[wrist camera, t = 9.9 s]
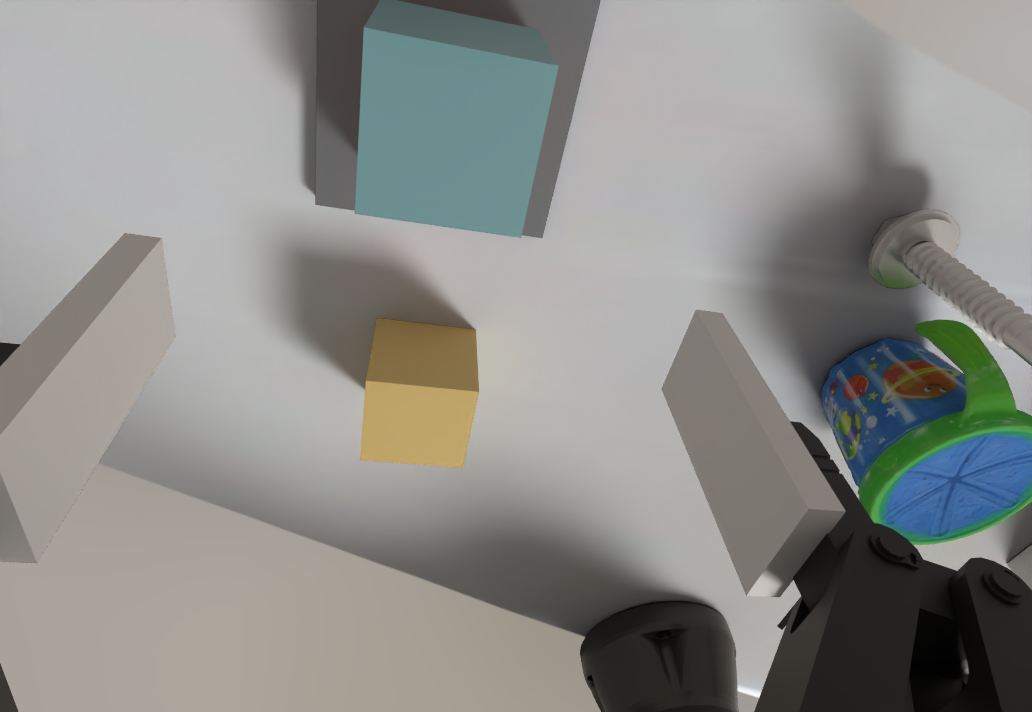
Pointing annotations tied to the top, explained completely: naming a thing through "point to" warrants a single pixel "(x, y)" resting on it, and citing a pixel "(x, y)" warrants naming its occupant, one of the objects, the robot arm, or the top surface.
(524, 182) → the teal brick
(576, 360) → the top surface
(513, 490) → the top surface
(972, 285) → the screw
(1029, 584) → the supplement box
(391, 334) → the ochre brick
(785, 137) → the top surface
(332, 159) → the base
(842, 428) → the snack cup
